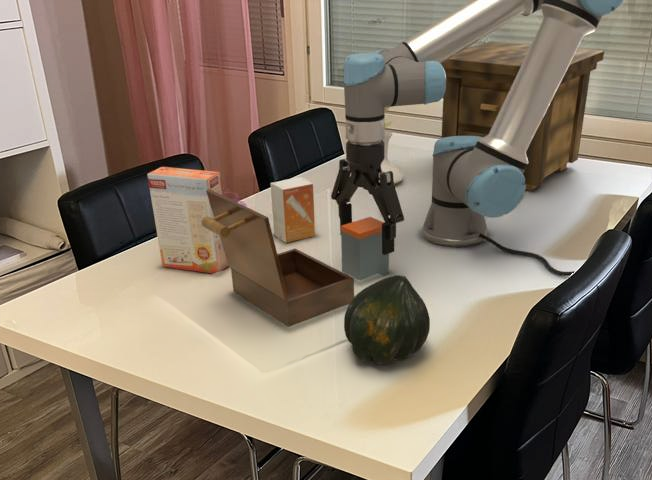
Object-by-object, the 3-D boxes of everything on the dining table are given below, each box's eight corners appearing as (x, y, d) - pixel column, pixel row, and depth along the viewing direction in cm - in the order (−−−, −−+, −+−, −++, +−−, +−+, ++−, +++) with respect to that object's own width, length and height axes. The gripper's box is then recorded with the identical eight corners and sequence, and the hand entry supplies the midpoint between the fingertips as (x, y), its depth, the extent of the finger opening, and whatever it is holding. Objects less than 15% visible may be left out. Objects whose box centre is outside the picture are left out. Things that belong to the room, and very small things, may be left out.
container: (370, 264, 158) (370, 216, 153) (388, 273, 154) (389, 224, 149) (342, 274, 154) (340, 225, 148) (360, 283, 150) (359, 233, 144)
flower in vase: (410, 180, 209) (412, 90, 196) (390, 191, 201) (391, 97, 188) (372, 173, 215) (372, 85, 202) (351, 183, 207) (349, 92, 194)
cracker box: (231, 264, 159) (221, 170, 148) (218, 275, 154) (206, 179, 143) (176, 256, 163) (162, 164, 152) (161, 267, 158) (145, 172, 147)
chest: (296, 273, 155) (295, 248, 152) (354, 305, 142) (354, 278, 139) (233, 294, 146) (230, 268, 143) (289, 330, 133) (287, 302, 130)
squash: (315, 332, 121) (370, 281, 112) (352, 299, 133) (405, 249, 124) (372, 394, 122) (431, 348, 113) (404, 355, 134) (460, 310, 125)
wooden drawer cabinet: (586, 166, 219) (604, 51, 202) (540, 198, 195) (556, 69, 178) (483, 149, 237) (491, 41, 220) (428, 176, 212) (433, 57, 195)
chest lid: (209, 188, 133) (179, 202, 130) (268, 217, 120) (236, 232, 117) (232, 265, 143) (205, 279, 140) (288, 299, 130) (260, 314, 127)
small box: (286, 243, 169) (282, 189, 162) (273, 235, 173) (269, 182, 166) (316, 236, 172) (313, 183, 166) (303, 228, 177) (300, 176, 170)
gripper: (311, 131, 146) (316, 231, 157) (393, 157, 129) (393, 266, 141) (340, 125, 150) (343, 222, 161) (423, 149, 133) (421, 256, 145)
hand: (366, 243), depth 151 cm, fingers open, 13 cm apart
